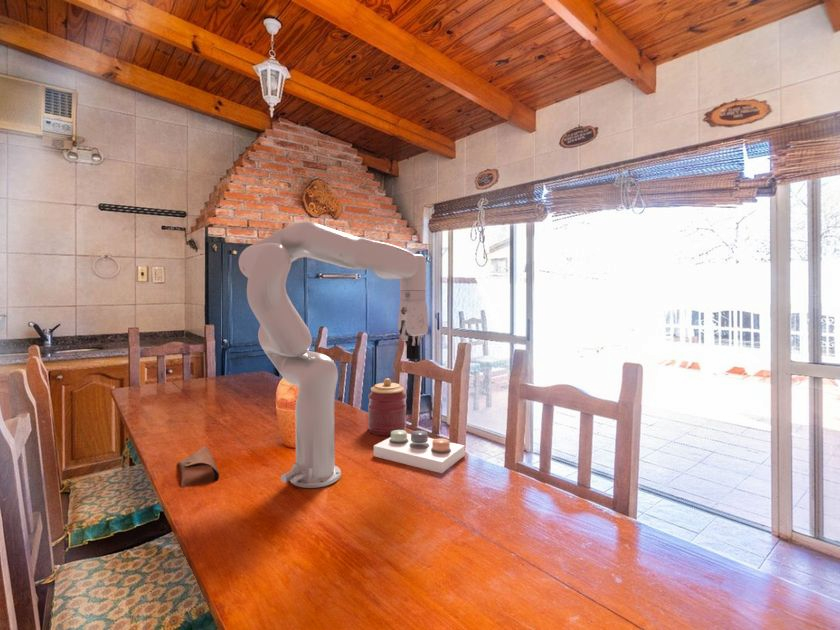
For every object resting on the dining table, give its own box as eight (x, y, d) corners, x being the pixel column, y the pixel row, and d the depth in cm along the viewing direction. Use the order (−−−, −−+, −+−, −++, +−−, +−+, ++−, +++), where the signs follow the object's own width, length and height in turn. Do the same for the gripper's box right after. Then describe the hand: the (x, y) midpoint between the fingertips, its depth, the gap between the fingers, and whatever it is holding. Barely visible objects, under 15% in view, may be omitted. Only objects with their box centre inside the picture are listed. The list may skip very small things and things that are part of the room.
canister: (386, 439, 138) (386, 384, 137) (359, 430, 146) (359, 378, 145) (414, 429, 147) (414, 378, 146) (388, 421, 156) (388, 373, 155)
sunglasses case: (174, 462, 118) (188, 439, 119) (199, 470, 121) (212, 448, 123) (180, 488, 103) (196, 461, 104) (209, 496, 106) (223, 470, 108)
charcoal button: (422, 444, 120) (422, 437, 120) (407, 441, 123) (407, 434, 123) (430, 439, 125) (430, 432, 124) (416, 436, 127) (416, 429, 127)
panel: (441, 473, 112) (442, 461, 112) (373, 456, 124) (373, 445, 123) (464, 455, 124) (464, 444, 124) (400, 441, 136) (400, 431, 135)
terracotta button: (444, 452, 117) (444, 445, 117) (429, 449, 119) (429, 442, 119) (452, 447, 121) (452, 440, 121) (437, 444, 124) (437, 437, 123)
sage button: (401, 443, 124) (401, 436, 124) (387, 440, 127) (387, 433, 126) (410, 438, 128) (410, 431, 128) (396, 435, 131) (396, 428, 131)
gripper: (410, 297, 119) (409, 363, 120) (436, 296, 132) (435, 356, 133) (387, 296, 123) (387, 361, 124) (415, 296, 136) (414, 354, 137)
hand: (412, 358), depth 128 cm, fingers closed
